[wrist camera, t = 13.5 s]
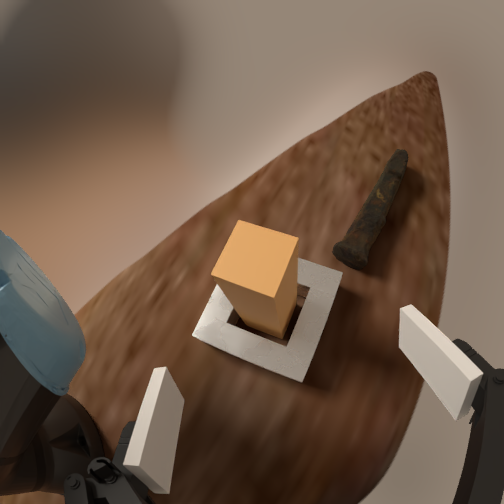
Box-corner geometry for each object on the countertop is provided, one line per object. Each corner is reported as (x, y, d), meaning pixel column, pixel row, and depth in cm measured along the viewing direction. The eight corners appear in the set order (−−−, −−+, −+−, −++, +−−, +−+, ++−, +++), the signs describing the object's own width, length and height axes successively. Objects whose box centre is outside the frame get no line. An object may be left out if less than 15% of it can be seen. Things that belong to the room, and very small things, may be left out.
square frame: (202, 341, 29) (191, 335, 26) (245, 253, 33) (240, 238, 30) (300, 382, 26) (302, 382, 23) (337, 285, 30) (342, 272, 27)
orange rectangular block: (246, 325, 29) (210, 274, 17) (261, 291, 31) (238, 220, 18) (282, 339, 28) (274, 297, 16) (296, 304, 30) (298, 238, 17)
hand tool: (359, 277, 30) (368, 259, 26) (329, 258, 32) (334, 238, 28) (415, 175, 36) (424, 153, 31) (391, 162, 37) (399, 139, 33)
